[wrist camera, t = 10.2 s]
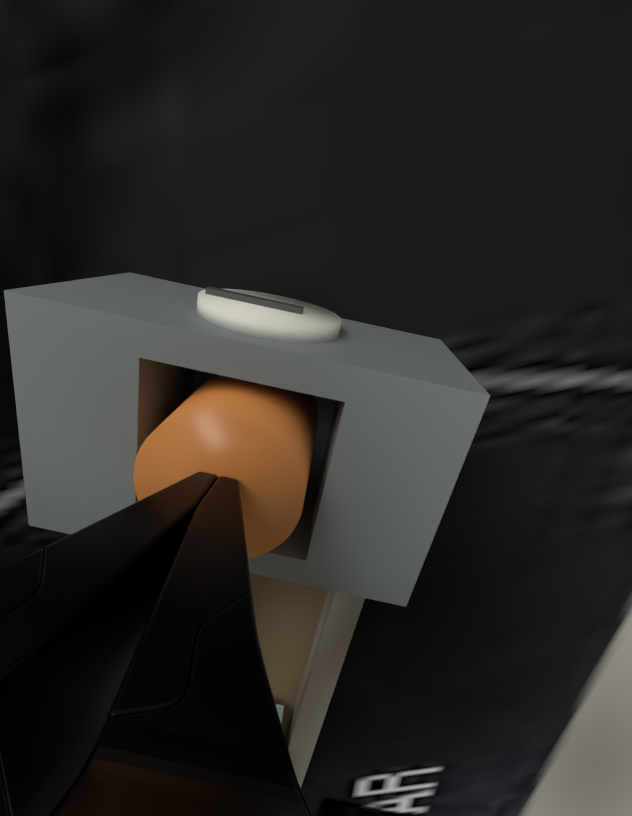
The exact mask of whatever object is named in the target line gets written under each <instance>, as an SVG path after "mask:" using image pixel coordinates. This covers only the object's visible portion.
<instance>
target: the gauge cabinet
mask: <svg viewBox="0 0 632 816" xmlns="http://www.w3.org/2000/svg"><path fill="white" fill-rule="evenodd" d="M4 296H5V305H6V315H7V324H8V334H9V343H10V353H11V362H12V372H13V381H14V391H15V400H16V409H17V419H18V428H19V438H20V447H21V457H22V466H23V476H24V485H25V495H26V504H27V513H28V523H29V525H30V526H35V527H39V528H44V529H48V530H53V531H58V532H62V533H67V534H73V533H75V532H77V531H79V530H81V529H83V528H85V527H87V526H89V525H91V524H93V523H95V522H97V521H99V520H101V519H103V518H105V517H107V516H109V515H111V514H113V513H115V512H117V511H119V510H121V509H124V508H126V507H128V506H130V505H132V504H134V503H136V502H138V498H137V495H136V492H135V487H134V479H133V472H134V464H135V460H136V456H137V454H138V451H139V449H140V447H141V445H142V444H143V442H144V441H145V439H146V438H147V437H148V436H149V435H150V434H151V433H152V432H153V431H154V430H155V429H156V428H157V427H158V426H159V425H160V424H161V423H162V422H163V421H164V420H165V419H166V418H168V417H169V416H170V415H171V414H172V413H173V412H174V411H175V410H176V409H177V408H178V407H179V406H180V405H181V404H182V403H183V402H184V401H185V400H186V399H187V398H188V397H189V396H191V395H192V394H193V393H194V392H195V391H196V390H197V389H198V388H199V387H200V386H201V385H202V384H203V383H204V382H205V381H206V380H207V379H208V378H209V377H210V376H211V375H212V374H217V375H222V376H226V377H231V378H236V379H240V380H245V381H249V382H254V383H259V384H263V385H268V386H273V387H277V388H282V389H286V390H291V391H296V392H300V393H305V394H310V395H314V397H315V400H316V403H317V407H318V428H317V433H316V439H315V444H314V450H313V455H312V460H311V466H310V471H309V477H308V482H307V488H306V493H305V498H304V504H303V509H302V513H301V516H300V519H299V521H298V523H297V525H296V527H295V529H294V530H293V532H292V533H291V535H290V536H289V537H288V538H287V539H286V540H285V541H284V542H283V543H281V544H280V545H279V546H277V547H276V548H274V549H272V550H271V551H269V552H267V553H264V554H262V555H259V556H256V557H252V558H248V563H249V571H250V573H252V574H256V575H261V576H266V577H270V578H275V579H280V580H284V581H289V582H293V583H298V584H303V585H307V586H312V587H317V588H321V589H326V590H330V591H335V592H340V593H344V594H349V595H354V596H358V597H363V598H367V599H372V600H377V601H381V602H386V603H391V604H395V605H400V606H404V607H406V606H407V603H408V601H409V598H410V596H411V593H412V591H413V588H414V586H415V583H416V581H417V578H418V576H419V573H420V571H421V568H422V566H423V563H424V561H425V558H426V556H427V553H428V551H429V548H430V546H431V543H432V541H433V538H434V536H435V533H436V531H437V528H438V526H439V523H440V521H441V518H442V516H443V513H444V511H445V508H446V506H447V503H448V501H449V498H450V496H451V493H452V491H453V488H454V486H455V483H456V481H457V478H458V475H459V473H460V470H461V468H462V465H463V463H464V460H465V458H466V455H467V453H468V450H469V448H470V445H471V443H472V440H473V438H474V435H475V433H476V430H477V428H478V425H479V423H480V420H481V418H482V415H483V413H484V410H485V408H486V405H487V403H488V400H489V398H490V395H489V394H488V392H487V391H486V390H485V389H484V388H483V387H482V386H481V385H480V384H479V382H478V381H477V380H476V379H475V378H474V377H473V376H472V375H471V373H470V372H469V371H468V370H467V369H466V368H465V367H464V366H463V365H462V363H461V362H460V361H459V360H458V359H457V358H456V357H455V356H454V354H453V353H452V352H451V351H450V350H449V349H448V348H447V347H446V346H445V344H444V343H443V342H442V341H441V340H440V339H435V338H430V337H426V336H421V335H416V334H412V333H407V332H403V331H398V330H393V329H389V328H384V327H380V326H375V325H370V324H366V323H361V322H356V321H352V320H347V319H343V318H340V317H339V316H338V315H337V314H335V313H333V312H331V311H329V310H327V309H325V308H322V307H319V306H316V305H313V304H310V303H307V302H303V301H300V300H296V299H292V298H288V297H283V296H278V295H273V294H268V293H262V292H255V291H248V290H238V289H220V288H216V287H211V286H209V287H206V289H204V288H199V287H195V286H190V285H185V284H181V283H176V282H172V281H167V280H162V279H158V278H153V277H149V276H144V275H139V274H135V273H123V274H116V275H109V276H102V277H95V278H88V279H81V280H74V281H67V282H60V283H52V284H45V285H38V286H31V287H24V288H17V289H10V290H4Z"/></svg>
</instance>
